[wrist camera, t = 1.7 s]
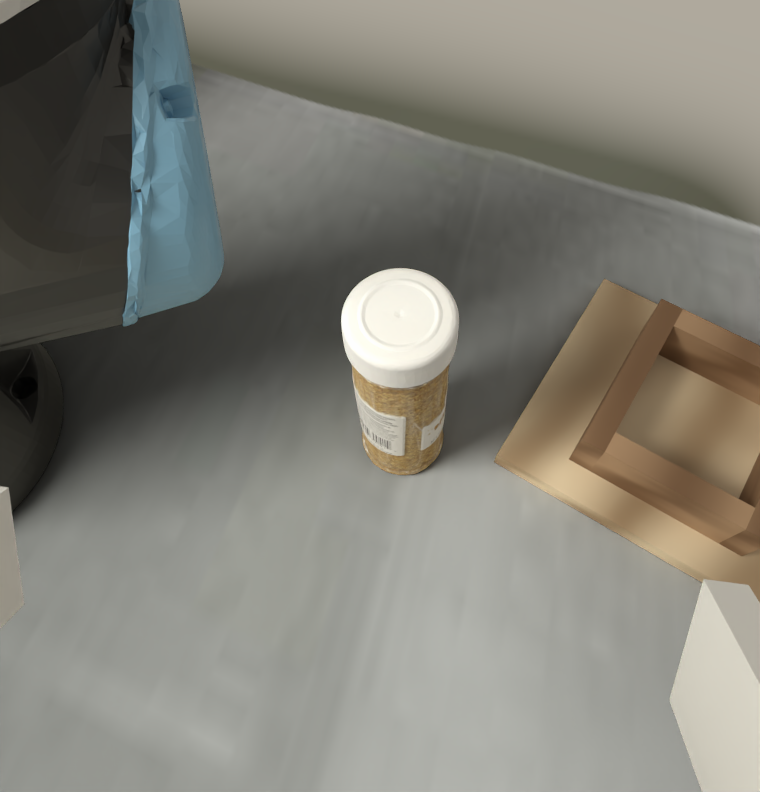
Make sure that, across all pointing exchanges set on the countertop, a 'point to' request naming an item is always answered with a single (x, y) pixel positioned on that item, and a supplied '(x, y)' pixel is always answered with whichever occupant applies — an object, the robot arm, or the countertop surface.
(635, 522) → the socket board
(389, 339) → the sprinkles bottle
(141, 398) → the countertop surface
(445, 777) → the countertop surface
